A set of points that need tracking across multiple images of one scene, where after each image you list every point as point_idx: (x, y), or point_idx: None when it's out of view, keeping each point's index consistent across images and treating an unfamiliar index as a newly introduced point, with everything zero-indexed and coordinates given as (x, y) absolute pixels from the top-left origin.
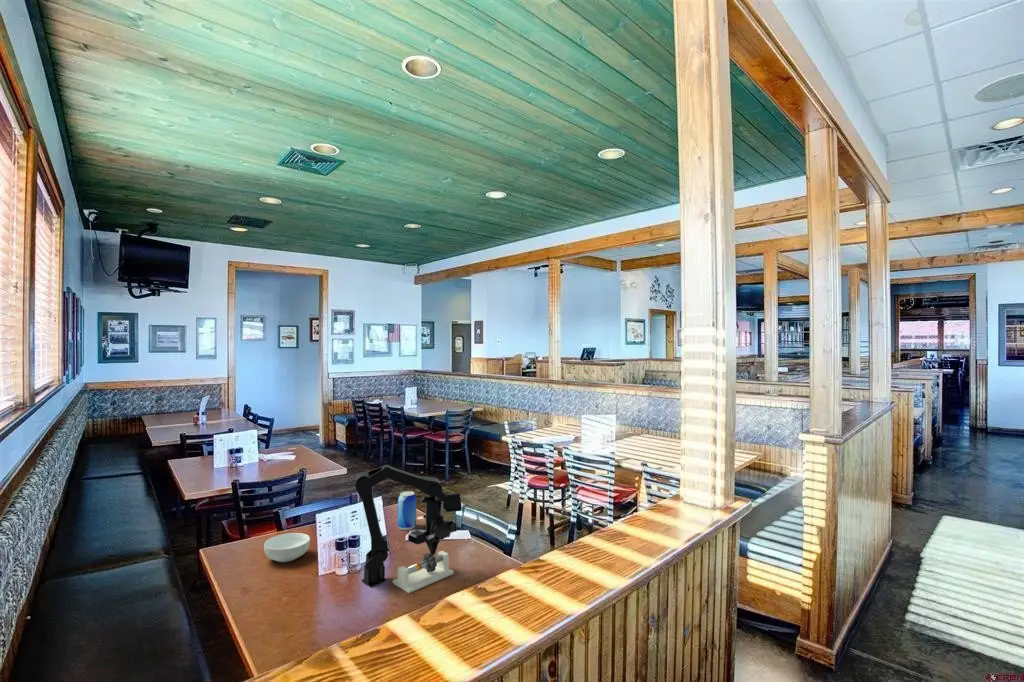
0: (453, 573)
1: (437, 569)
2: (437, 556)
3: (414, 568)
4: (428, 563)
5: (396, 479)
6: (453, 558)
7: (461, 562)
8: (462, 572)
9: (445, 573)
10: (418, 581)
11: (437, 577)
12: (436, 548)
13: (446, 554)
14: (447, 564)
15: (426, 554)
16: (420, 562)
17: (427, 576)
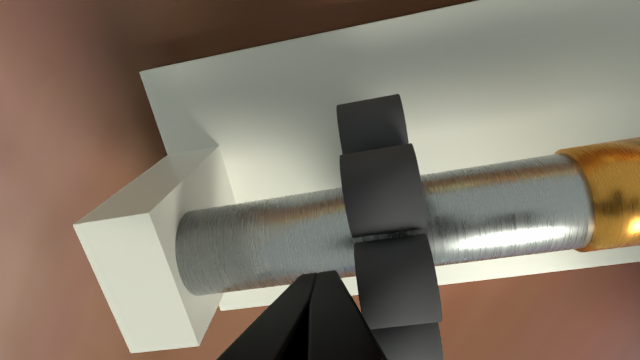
0: (153, 68)
1: (274, 197)
2: (249, 259)
3: None
4: (436, 184)
5: None
6: (63, 317)
7: (17, 223)
8: (61, 38)
9: (239, 70)
10: (577, 72)
11: (355, 35)
12: (248, 332)
13: (109, 225)
14: (161, 166)
15: (421, 337)
16: (566, 232)
17: (433, 121)
